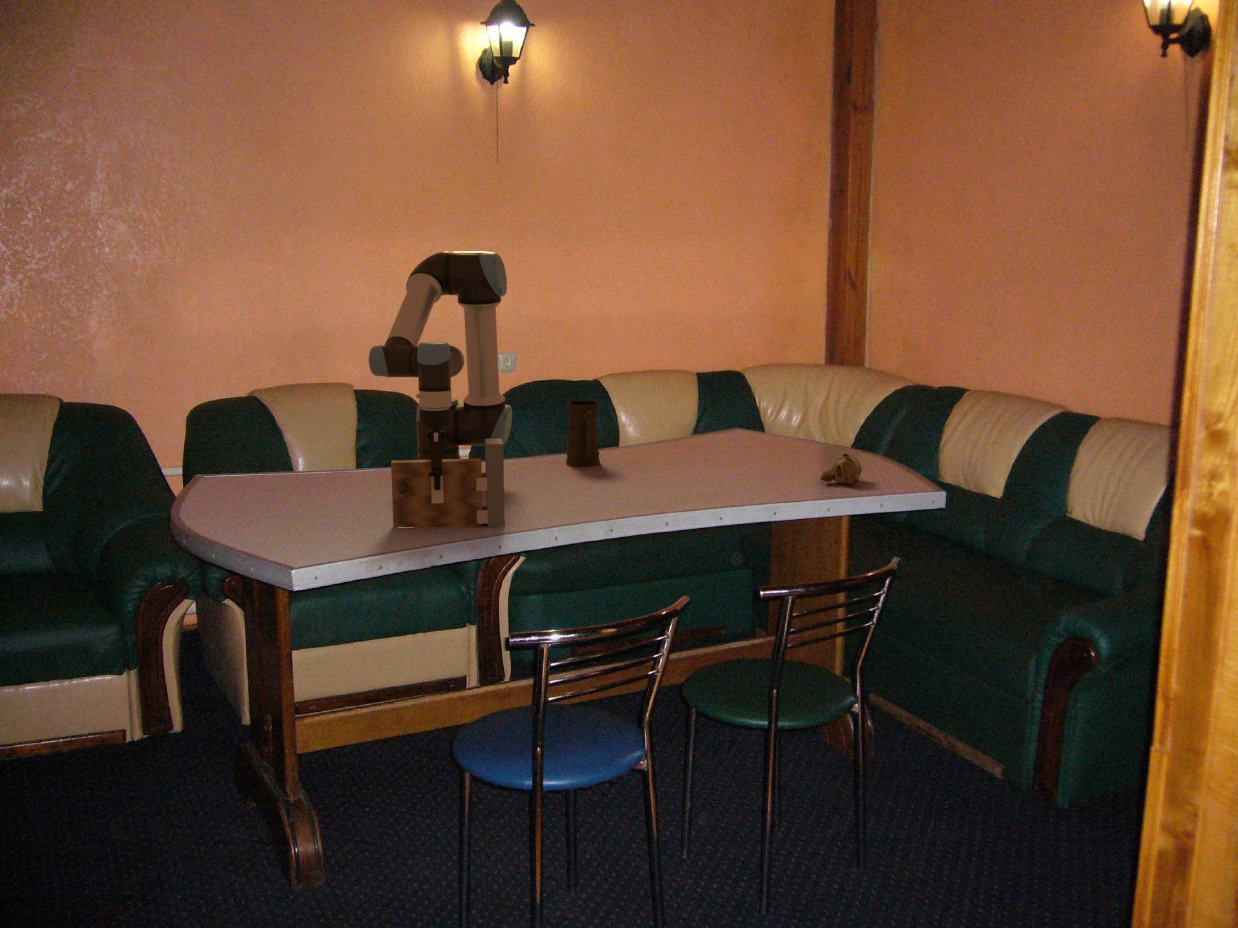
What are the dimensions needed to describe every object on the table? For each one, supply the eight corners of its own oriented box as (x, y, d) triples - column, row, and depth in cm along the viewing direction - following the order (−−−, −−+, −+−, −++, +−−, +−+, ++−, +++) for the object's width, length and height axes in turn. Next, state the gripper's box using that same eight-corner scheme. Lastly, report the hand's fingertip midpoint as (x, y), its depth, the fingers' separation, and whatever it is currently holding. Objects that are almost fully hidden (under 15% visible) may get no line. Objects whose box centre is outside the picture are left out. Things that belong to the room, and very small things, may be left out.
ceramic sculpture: (870, 450, 309) (855, 462, 297) (869, 479, 312) (854, 492, 299) (834, 447, 314) (818, 458, 302) (834, 475, 317) (817, 488, 304)
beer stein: (560, 461, 335) (561, 399, 330) (590, 458, 339) (592, 398, 334) (578, 473, 322) (580, 410, 317) (610, 470, 326) (612, 407, 321)
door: (393, 530, 252) (390, 464, 249) (393, 525, 256) (391, 460, 253) (482, 527, 255) (481, 461, 252) (482, 522, 260) (481, 458, 256)
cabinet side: (477, 527, 255) (475, 445, 251) (476, 519, 263) (474, 439, 259) (504, 526, 256) (503, 444, 252) (502, 518, 264) (501, 438, 260)
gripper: (419, 400, 262) (422, 485, 266) (418, 416, 238) (420, 509, 242) (450, 400, 263) (452, 484, 268) (452, 415, 239) (454, 508, 244)
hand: (437, 496), depth 255 cm, fingers open, 13 cm apart
